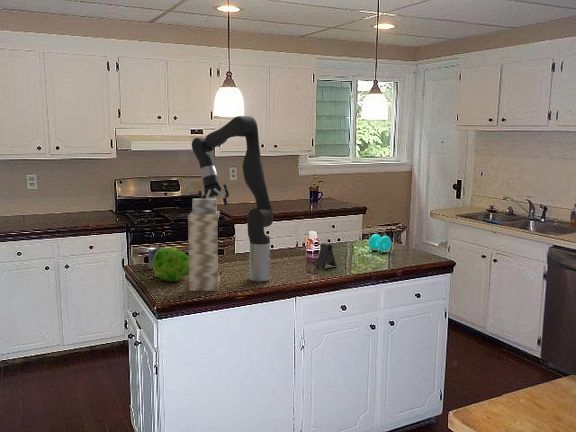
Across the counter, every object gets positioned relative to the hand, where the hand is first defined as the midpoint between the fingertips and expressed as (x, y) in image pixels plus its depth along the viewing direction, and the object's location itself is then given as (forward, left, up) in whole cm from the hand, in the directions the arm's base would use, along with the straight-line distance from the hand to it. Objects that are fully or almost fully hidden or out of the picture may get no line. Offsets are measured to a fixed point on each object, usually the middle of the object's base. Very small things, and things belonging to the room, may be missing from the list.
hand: (217, 208), depth 258 cm
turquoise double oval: (-90, -41, -31) cm, 104 cm away
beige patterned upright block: (+3, +28, -30) cm, 42 cm away
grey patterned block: (+4, +18, +2) cm, 19 cm away
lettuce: (+20, +18, -31) cm, 41 cm away
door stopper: (-55, -5, -31) cm, 63 cm away
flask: (+29, -4, -31) cm, 43 cm away
